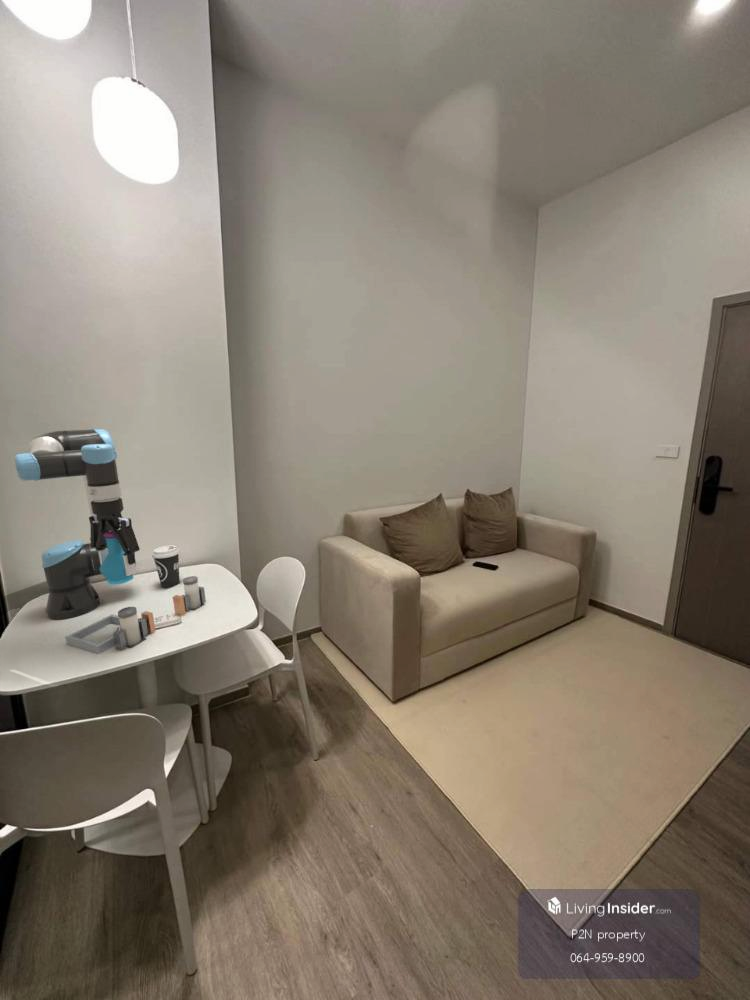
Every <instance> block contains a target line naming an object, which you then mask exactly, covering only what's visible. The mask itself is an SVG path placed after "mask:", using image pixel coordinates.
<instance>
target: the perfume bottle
mask: <svg viewBox="0 0 750 1000" xmlns="http://www.w3.org/2000/svg"><path fill="white" fill-rule="evenodd" d="M103 536H104V537H105V539H106V542H107V547H108V553H109V554H108V555H107V557H106V559H105V560H104V562H103V563H102V565H101V567H100V572H101V574H100V575H102V576H103V577H104V579H105V580H107V581H106V582H107V584H108V585H113V586H115V585H122V584H125V583H128V582H130V581H132V580H133V579H134V574H132V575H130V576H126V570H125V564H124V558H123V554H125V552H124V551H123V549H122V547H121V545H120V543H119V542H118V540H117V538H116V536H115V535H114V534H112V532H111V531H109V532H106V533H105V534H104V535H103ZM135 566H136V567H137V561H136V562H135Z"/></svg>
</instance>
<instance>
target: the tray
mask: <svg viewBox="0 0 750 1000" xmlns="http://www.w3.org/2000/svg"><path fill="white" fill-rule="evenodd" d="M110 624H116V625H120V620H119V617H118V614H117V615H116V614H113V613H111V614H110V615H107V616H106V617H103V618H102V619H99V620H97V621H95V622H93V623H91V624H89V625H87V626H85V627H83V628H81V629H79V630H77V631H75V632H73V633H70V634H69V635H67V636H65V641H66V644H67V645H69V646H71V647H76V648H79V649H82V650H85V651H89V652H93V653H96V654H100V655H101V653H103V652H104V651H107V650H108V649H110V648H112V647H113V646H115V640H114V635H113V636H111V637H109V638H107V639H106V640H103V641H101V642H100V643H98V642H93V641H90V640H86V639H83V638H85V637H87V636H89V635H91V634H92V633H94V632H97V631H99V630H101V629H103V628H106V626H108V625H110Z"/></svg>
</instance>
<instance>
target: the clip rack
mask: <svg viewBox="0 0 750 1000" xmlns="http://www.w3.org/2000/svg"><path fill="white" fill-rule="evenodd" d="M198 587H199V595H200V602H201V605H200V606H199V607H197V608H194V609H190V604H189V597H188V596H186V595H185V594H182V595H178V594H176V595H173V596H172V602H173V608H174V609H173V610H174V614H175V615H177V616H182V617H183V616H184V615H185V614H186V613H188V612H190V611H196V610H198V609H200V608H202V607H203V606H204V605H206V603H205V602H206V601H207V600H206V593H205V587H202V586H198ZM140 614H141V617H139V618H138V623H139V629H140V635H141V641H140V642H139V643H137V644H135V645H132V646H127V645H126V640H125V634H124V631H122V630H121V629H116V630H114V631H113V632H112V635H113V636H114V640H115V645H114V646H115V649H116V650H119V651H124V650H125V649H127V648H129V649H132V648H135V647H136V646H138V645H139V644H141V643H143V642H145V641H146V640H148V638H146V637H147V636H149V634H151V635H152V634H153V633H155V632H156V625H155V619H154V613H153V612H150V611H146V610H145V611H143V612H141V613H140Z"/></svg>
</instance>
